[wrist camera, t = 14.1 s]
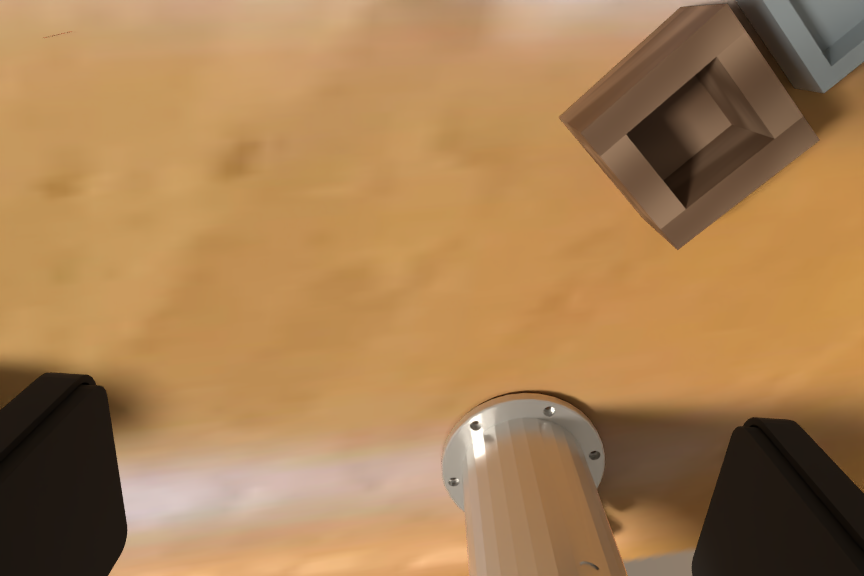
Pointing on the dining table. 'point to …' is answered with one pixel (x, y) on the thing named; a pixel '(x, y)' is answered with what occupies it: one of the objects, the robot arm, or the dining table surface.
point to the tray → (810, 38)
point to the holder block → (690, 122)
